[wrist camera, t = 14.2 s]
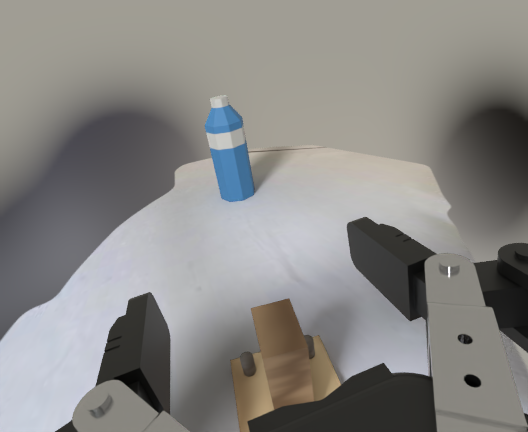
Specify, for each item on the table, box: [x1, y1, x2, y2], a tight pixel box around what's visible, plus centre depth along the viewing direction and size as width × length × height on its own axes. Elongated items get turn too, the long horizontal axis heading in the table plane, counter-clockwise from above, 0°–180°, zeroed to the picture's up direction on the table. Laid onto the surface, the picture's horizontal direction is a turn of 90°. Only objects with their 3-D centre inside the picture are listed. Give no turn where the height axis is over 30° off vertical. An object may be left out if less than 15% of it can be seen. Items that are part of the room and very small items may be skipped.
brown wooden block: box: [251, 299, 314, 410], centre depth 33 cm, size 4×6×12 cm, turn 12°
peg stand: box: [230, 335, 341, 432], centre depth 35 cm, size 12×14×4 cm
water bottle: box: [205, 95, 254, 202], centre depth 80 cm, size 9×9×25 cm
